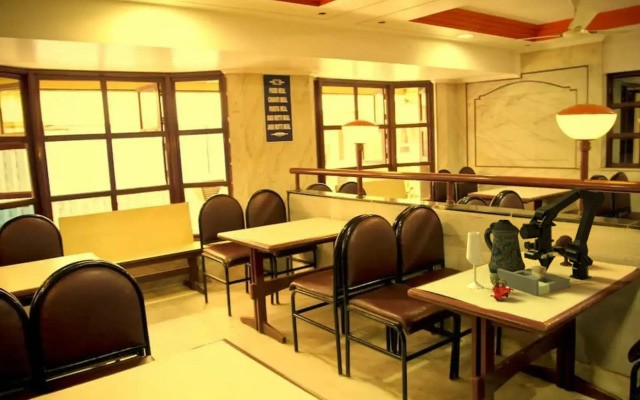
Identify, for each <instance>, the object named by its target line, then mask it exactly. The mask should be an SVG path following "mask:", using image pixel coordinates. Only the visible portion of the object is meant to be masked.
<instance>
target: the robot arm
mask: <svg viewBox="0 0 640 400" xmlns="http://www.w3.org/2000/svg"><path fill="white" fill-rule="evenodd" d="M603 192H604V191H603ZM603 192H602V191H598V190H590V189H588V190H586V189H583V188H580V187H578V188H577V187H574V188H572V189H571V190H570V191H568V192H566V194H564V195H563V196H561V197H560V198H558V199H556V200H555V201H553V202H551V203H549V204H546V205H542V206H540V207H537V208H536V209H535V211H534V214H533V216H532V217H531V219H530V221H529V223H525V222H523V223H522V226H521V227H520V228H519V230H520V231H519V236H520V238H521V239H522V240H528V241H524V242H523V243H524V244H523V247H524V249H525V250H526V251H525V252H524V253H523V258H524V259H528V260H531V261H538V262H539V264H540V266H543V267H546V273H548V272H547V271H548V269H549V268H550V266H551V264H552V263H553V262H554V259H556V258H557V257H556V255H554V253H557V252H558V253H559V254H565V251H566V256H567V258H568V262H570V263H572V270H571V271H572V273H571V274H570V275H569V277H570V278H574V279H577V280H581V281H583V280H586V279H591V278H592V275H589V271H590V270H589V267H590V266H593V265H594V264H593V263H594V260H593V259H592V258H591V257H590V256H589V248H588V240H589V236H590V234H591V230H592V227H593V224H594V221H595V218H596V214H597V212H598V211H599V210H600V209H601V208H602V207H603V205H604V203H605V201H606V195H605V194H604V193H603ZM579 199H581V200H582V201H581V202H582V207H583V211H582V214H581V218H580V221H579V225H578V227H577V230H576V233H575V237H574V240H572V243H568V244H567V248H566V250H565V249H564V248H563V247H560V246H555V244H553V243H554V242H555V239H553V235H552V234H553V232H552V231H553V228H552V227H557V224H556V223H555V222H554V220H555V219H556V218H557V217H558V216H559V213H561V212H562V211H563V210H565V209H566V208H568V207H569V206H570V205H572V204H573V203H575V202H576V201H578V200H579ZM532 239H534V241H533V242H531V241H530V240H532ZM558 253H557V254H558ZM559 254H558V255H559Z"/></svg>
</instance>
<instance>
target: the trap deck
mask: <svg viewBox="0 0 640 400" xmlns="http://www.w3.org/2000/svg"><path fill="white" fill-rule="evenodd" d="M497 275H498V276H499V278H500V279H502V278H503V279H506V282H507V286H506V288H510V287H511V289H514V290H517V291H519V292H523V293H525V294H528V295H532V296H535V297H537V296H542V295H545V294H549V293H552V292H556V291H560V290H564V289H568V288H570V287H571V285H570V284H571V283H570V282H571V280H570V278H567V277H563V276H559V275H556V274H552V273H549V272H546V276H545V277H541V278H538V277H535V276H532V268H530V267H529V268H525V269H524V270H520V271H516V272H510V271H506V270H503V269H497Z"/></svg>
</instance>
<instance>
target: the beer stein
mask: <svg viewBox="0 0 640 400" xmlns="http://www.w3.org/2000/svg"><path fill="white" fill-rule="evenodd" d="M519 231H520V228H518V227H517V225H514V224H513V223H512V222H511V221H510V219H499V220H498V221H495V222H494V221H493V222H491V223H490V224H489V227H487V228H486V229H485V230H484V234H483V238H484V239H483V240H484V241H485V242H484V243H485V245H486V246H487V248H488V249H489V251H490V252H491V253H490V259H489V262H488V269H489V270H488V271H489V273H490V274H497V269H503V270H506V271H510V272H516V271H520V270H524V269H526V263H525V262H524V259H523V256H522V251H521V246H520V239H519V235H520V232H519ZM491 234H492V236H493V237H492V238H491Z"/></svg>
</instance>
